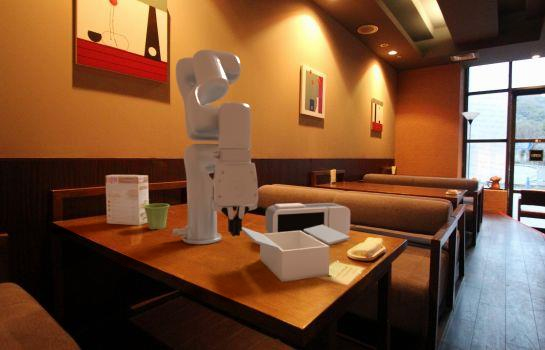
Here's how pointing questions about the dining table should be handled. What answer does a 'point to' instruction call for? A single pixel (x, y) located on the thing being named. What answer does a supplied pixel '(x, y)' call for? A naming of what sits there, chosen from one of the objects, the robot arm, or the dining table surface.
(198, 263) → the dining table surface
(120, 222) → the coffeecake box
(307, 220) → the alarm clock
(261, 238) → the near flap
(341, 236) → the far flap
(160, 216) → the plant pot
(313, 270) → the carton
